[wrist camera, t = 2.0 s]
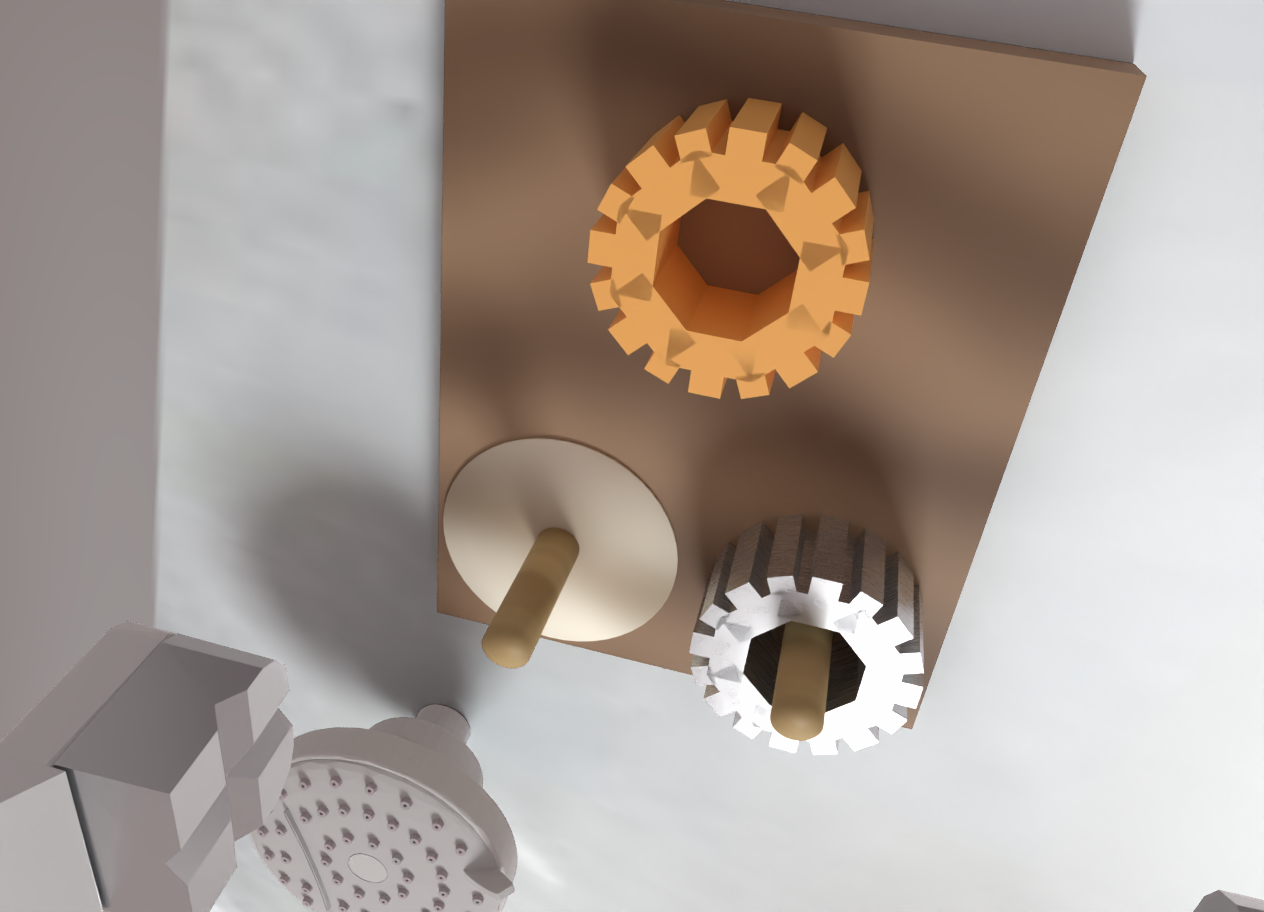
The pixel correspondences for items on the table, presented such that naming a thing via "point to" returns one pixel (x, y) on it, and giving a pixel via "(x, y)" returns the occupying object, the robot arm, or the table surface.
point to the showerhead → (390, 821)
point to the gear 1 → (717, 317)
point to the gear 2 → (818, 596)
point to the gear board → (747, 262)
